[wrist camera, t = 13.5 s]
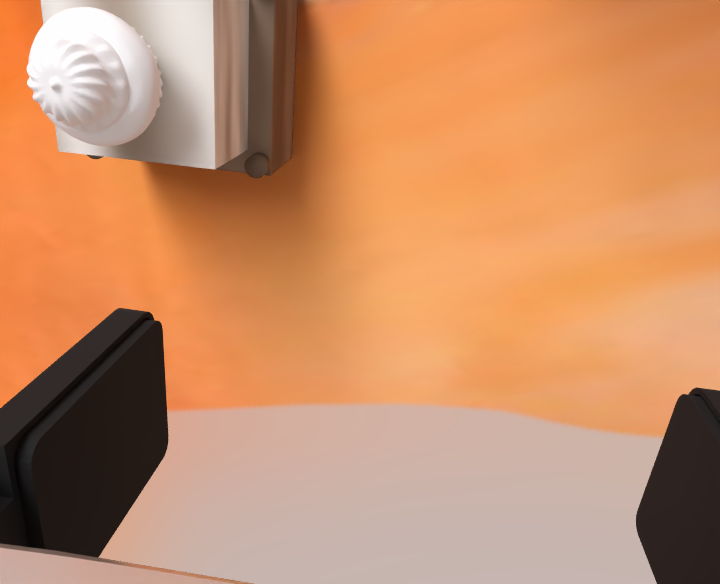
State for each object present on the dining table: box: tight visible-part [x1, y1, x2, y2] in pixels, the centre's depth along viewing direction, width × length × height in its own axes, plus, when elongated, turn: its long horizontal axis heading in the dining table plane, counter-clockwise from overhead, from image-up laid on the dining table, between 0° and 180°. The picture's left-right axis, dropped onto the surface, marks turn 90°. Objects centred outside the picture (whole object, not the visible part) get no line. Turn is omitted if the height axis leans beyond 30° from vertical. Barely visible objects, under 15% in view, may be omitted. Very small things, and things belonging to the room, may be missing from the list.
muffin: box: [27, 7, 163, 146], centre depth 28 cm, size 6×6×7 cm
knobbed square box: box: [41, 0, 298, 178], centre depth 37 cm, size 12×12×12 cm
